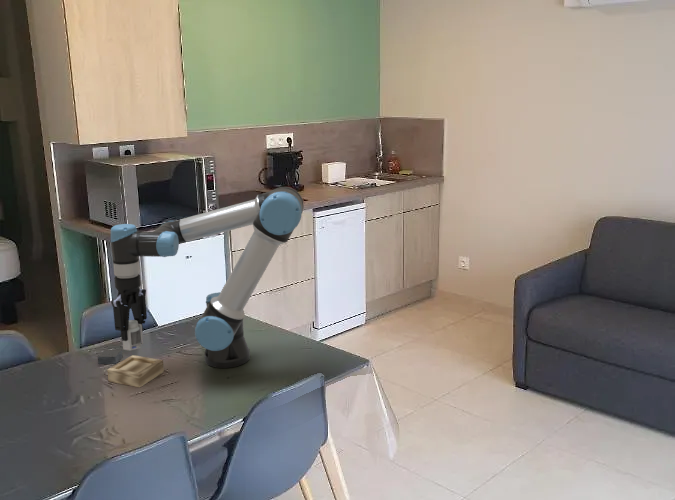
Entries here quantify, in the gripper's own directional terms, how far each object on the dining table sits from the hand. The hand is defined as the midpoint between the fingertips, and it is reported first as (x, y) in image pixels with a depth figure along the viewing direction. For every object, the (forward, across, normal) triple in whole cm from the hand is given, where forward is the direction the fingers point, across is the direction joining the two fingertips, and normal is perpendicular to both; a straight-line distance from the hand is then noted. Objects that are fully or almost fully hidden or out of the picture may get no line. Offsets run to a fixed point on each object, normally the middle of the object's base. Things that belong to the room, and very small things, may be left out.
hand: (133, 346), depth 202 cm
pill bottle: (+1, 0, 0) cm, 1 cm away
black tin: (+11, -7, -16) cm, 21 cm away
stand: (+10, 0, 0) cm, 10 cm away
